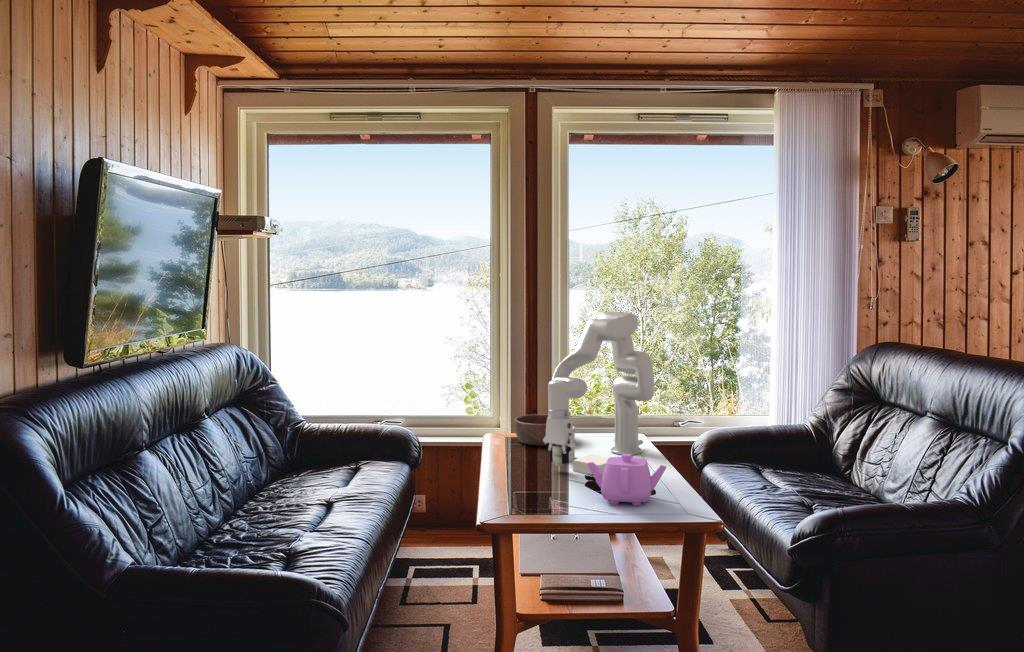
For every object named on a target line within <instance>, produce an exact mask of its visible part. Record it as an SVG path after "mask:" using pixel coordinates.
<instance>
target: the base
mask: <svg viewBox="0 0 1024 652" xmlns="http://www.w3.org/2000/svg"><path fill="white" fill-rule="evenodd" d="M609 458H610V457H606V456H601V455H596V454H590V455H586V456H583V457H579V458H575V459H573V461H572V471H573V472H576V473H582V474H587V475H591V474H592V472H591V470H590V468H589V467H588V463H590V462H594V464H595V465H596V466H597V467H598V468H599V470H600V471H601V472H602V473H603V472H604V468H605V465H606V462H607V460H608V459H609Z"/></svg>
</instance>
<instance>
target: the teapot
mask: <svg viewBox="0 0 1024 652" xmlns="http://www.w3.org/2000/svg"><path fill="white" fill-rule="evenodd" d="M608 458H609V459H608V460H607V462H606V465H605V468H604V472H603V473H602V472H601V471H600V470H599V468H598V467H597V466H596V465H595V464H594V462H590V463H588V467H589V468H590V470H591V472H592V474H593V475H592V476H593V478H594V479H595V482H596V483H597V485H598V487H599V488H600V492H601V496H602V498H603V500H605V501H609V505H615V506H616V505H619V504H620V502H623V503H631V504H632V506H634V507H641V506H642V505H643V504H642V503H646V502H648V501H649V499H650V497H651V495H652V491H654V489H655V488H656V486H657V484H658V483H659V481H660V480H661V478H662V476H663V474H664V473H665V471H666V469H667V465H661V464H660V465H659V467H658V468H657V469H656V470H655V472H654V473H652V475H651V471H650V468H649V467H650V466H649V463H648V461H647V459H645V458H640V457H639V458H638V457H634V455H631V454H622V455H621V456H612V457H611V456H610V457H608Z"/></svg>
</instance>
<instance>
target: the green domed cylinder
mask: <svg viewBox="0 0 1024 652" xmlns="http://www.w3.org/2000/svg"><path fill="white" fill-rule="evenodd" d="M565 447H566V446H565ZM552 450H553V462H552V465H553V466H555V467H564V466H566V465H567V463H566V464H562V453H563V449H562V445H556V444H555V445H553V446H552Z"/></svg>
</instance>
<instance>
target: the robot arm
mask: <svg viewBox="0 0 1024 652" xmlns="http://www.w3.org/2000/svg"><path fill="white" fill-rule="evenodd" d="M638 320H639V319H638V317H637V315H636V314H635V313H632V312H626V311H625V312H622V311H621V312H619V311H603V312H600V313H599V314H598V315H597V317H596V318H593V319H590V320H588V321H587V322H586V324H585V326H584V328H583V331H582V332H581V334H580V337H579V340H578V342H577V344H576V346H575V350H574V351H572V352H571V353H570V354H568V355H567V356H566V357H565V358H564V359H563V360H562V361H561V362H560V363H559V364H558V365H557V366H556V368H555V370H554V372H553V375H552V378H551V380H550V381H549V382H548V383H547V403H548V404H547V405H548V409H547V410H548V411H547V412H548V413H547V414H549V417H547V423H546V436H545V437H544V439H543V442H544V443H545V444H546V446H545V447H547V450H548V451H549V462H550V463H553V450H552V446H553V445H555V444H556V445H562V449H563V453H562V464H566V465H567V464H569V462H570V461H569V452H570V451H571V450H572V449H573V448H574V447H577V445H576V442H574V437H573V426H574V425H573V422H572V418H571V417H570V416H571V415H572V412H570V409H569V407H570V405H569V404H570V402H569V401H570V400H569V399H581V398H582V397H584V396H585V395H586V393H587V392H588V385H587V383H586V381H585V380H583V379H581V378H579V377H571V376H570V375H571V374H572V372H574V371H575V370H577V369H578V368H582V367H583V366H586V365H589V364H590V363H594V361H595V360H596V359H597V356H598V353H599V351H600V349H601V347H602V343H603V342H611V348H612V356H613V357H612V358H613V365H614V369H615V371H616V372H618V373H621V374H625V375H620V376H617V377H616V378H614V380H613V382H612V394H613V399H614V447H611V449H610V452H611V453H613V454H616V455H622V454H631V455H632V456H635V455H640V454H642V453H643V449H642V448H640V447H639V446H640V445H643V444H644V440H643V439H639V407H638V405H637V403H636V401H638V402H649V401H650V400H652V399H653V397H654V394H655V388H656V387H655V376H654V364H653V360H652V357H651V355H649V353H647V352H646V351H642V350H641V351H639V350H635V348H634V341H633V338H632V337H633V336H632V335H633V334H634V333H635V332H636V331H637V329H638V326H639V321H638ZM626 374H627V375H626ZM632 375H633V376H632ZM634 375H635V376H634ZM569 376H570V377H569ZM569 444H570V446H569ZM565 446H566V447H565Z"/></svg>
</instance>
